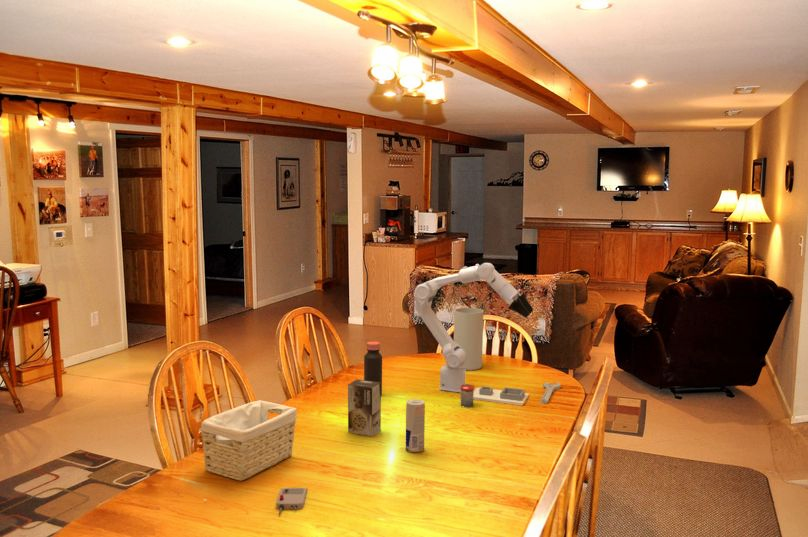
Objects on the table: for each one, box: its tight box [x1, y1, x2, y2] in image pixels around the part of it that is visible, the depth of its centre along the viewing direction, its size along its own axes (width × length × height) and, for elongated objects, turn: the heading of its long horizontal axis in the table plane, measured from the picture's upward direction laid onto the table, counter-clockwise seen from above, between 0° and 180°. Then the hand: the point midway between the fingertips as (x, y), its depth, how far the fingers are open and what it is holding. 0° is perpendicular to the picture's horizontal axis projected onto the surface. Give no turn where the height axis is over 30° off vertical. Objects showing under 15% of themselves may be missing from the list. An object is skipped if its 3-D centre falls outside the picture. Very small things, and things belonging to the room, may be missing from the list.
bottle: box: [363, 341, 383, 396], centre depth 258 cm, size 7×7×20 cm
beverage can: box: [405, 398, 426, 453], centre depth 206 cm, size 6×6×15 cm
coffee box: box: [347, 378, 382, 437], centre depth 221 cm, size 9×6×16 cm
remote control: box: [275, 487, 308, 515], centre depth 173 cm, size 7×16×3 cm, turn 2°
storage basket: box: [200, 399, 298, 481], centre depth 195 cm, size 24×16×15 cm
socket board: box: [473, 385, 530, 407], centre depth 258 cm, size 20×12×3 cm, turn 70°
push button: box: [460, 383, 475, 408], centre depth 249 cm, size 5×5×7 cm
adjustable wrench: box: [540, 381, 562, 405], centre depth 264 cm, size 25×6×2 cm, turn 155°
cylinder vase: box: [453, 307, 484, 371], centre depth 298 cm, size 12×12×25 cm
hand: (529, 313), depth 254 cm, fingers open, 7 cm apart
